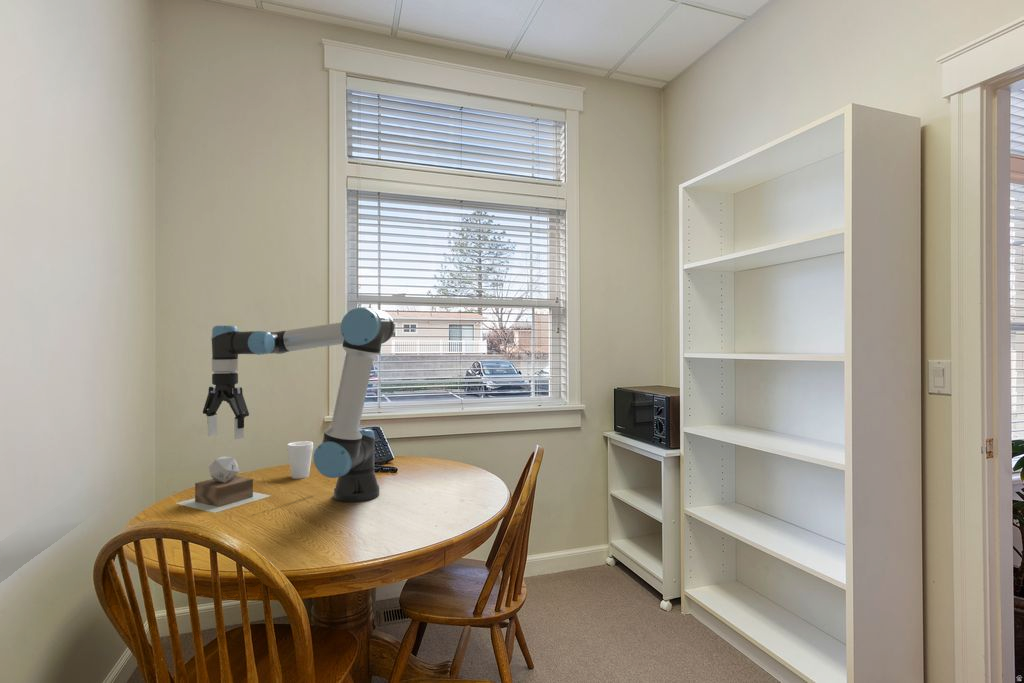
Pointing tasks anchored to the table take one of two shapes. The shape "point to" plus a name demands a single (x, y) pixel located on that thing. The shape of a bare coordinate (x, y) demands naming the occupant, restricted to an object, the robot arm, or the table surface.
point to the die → (223, 469)
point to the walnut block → (223, 491)
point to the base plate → (216, 509)
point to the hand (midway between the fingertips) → (225, 437)
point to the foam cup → (300, 458)
